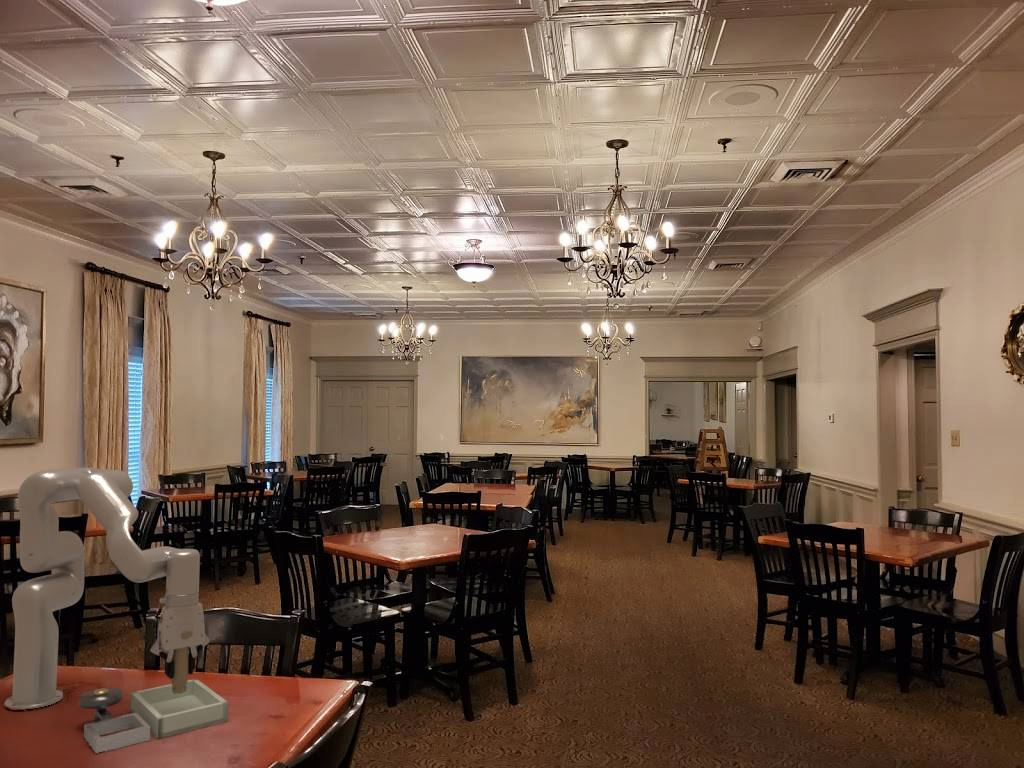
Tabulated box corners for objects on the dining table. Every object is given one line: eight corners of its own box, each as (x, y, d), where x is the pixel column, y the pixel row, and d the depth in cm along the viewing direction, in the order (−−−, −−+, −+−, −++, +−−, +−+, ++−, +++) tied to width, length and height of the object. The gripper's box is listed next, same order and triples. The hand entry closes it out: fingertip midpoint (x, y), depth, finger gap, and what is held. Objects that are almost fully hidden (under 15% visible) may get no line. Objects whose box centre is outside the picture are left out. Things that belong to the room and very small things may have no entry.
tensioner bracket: (73, 724, 177) (75, 689, 178) (124, 713, 185) (125, 679, 185) (95, 753, 162) (97, 715, 162) (149, 740, 169) (151, 703, 169)
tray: (130, 710, 186) (130, 692, 186) (195, 696, 197) (196, 678, 197) (157, 739, 170) (158, 718, 170) (227, 721, 180) (228, 702, 181)
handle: (181, 697, 180) (183, 634, 181) (161, 693, 182) (163, 631, 183) (196, 690, 184) (198, 629, 185) (177, 687, 187) (179, 626, 188)
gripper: (150, 608, 176) (148, 686, 175) (221, 597, 188) (219, 671, 186) (141, 602, 182) (138, 678, 181) (210, 592, 193) (208, 664, 192)
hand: (179, 674), depth 184 cm, fingers closed on handle, 4 cm apart
